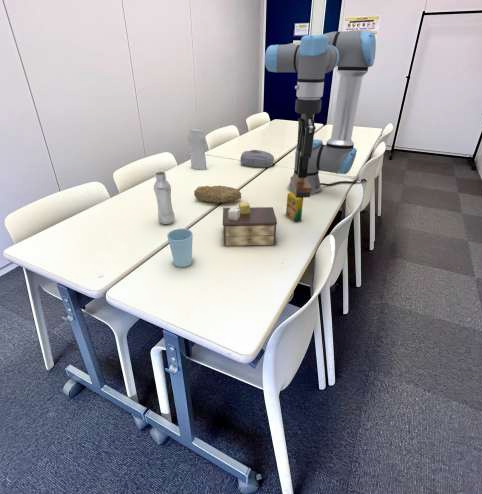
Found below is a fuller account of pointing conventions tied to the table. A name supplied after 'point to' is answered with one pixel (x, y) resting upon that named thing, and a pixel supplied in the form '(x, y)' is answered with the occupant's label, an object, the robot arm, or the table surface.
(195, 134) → the tall pale column
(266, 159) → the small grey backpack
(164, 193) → the plastic bottle
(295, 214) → the crayon box
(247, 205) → the paper ball yellow
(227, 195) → the sponge
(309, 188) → the brush
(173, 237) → the cup
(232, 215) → the white faceted lump
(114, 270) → the table surface
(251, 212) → the cabinet
